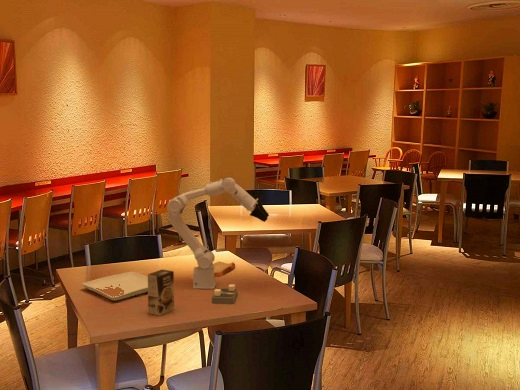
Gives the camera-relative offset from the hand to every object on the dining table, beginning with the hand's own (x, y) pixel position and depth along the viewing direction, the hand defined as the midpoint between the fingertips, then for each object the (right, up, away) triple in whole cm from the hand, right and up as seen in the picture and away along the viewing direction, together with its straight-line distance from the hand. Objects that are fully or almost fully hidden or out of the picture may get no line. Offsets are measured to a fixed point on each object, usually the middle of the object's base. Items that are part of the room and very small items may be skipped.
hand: (266, 218), depth 263 cm
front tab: (-21, -32, -13) cm, 40 cm away
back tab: (-15, -31, -6) cm, 35 cm away
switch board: (-18, -34, -9) cm, 40 cm away
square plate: (-64, -33, +3) cm, 72 cm away
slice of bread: (-22, -28, +33) cm, 49 cm away
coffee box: (-43, -37, -25) cm, 61 cm away
